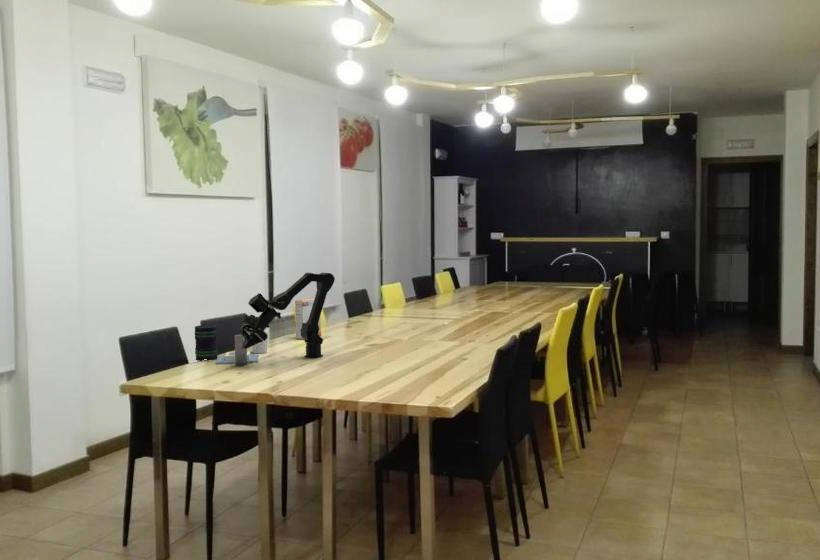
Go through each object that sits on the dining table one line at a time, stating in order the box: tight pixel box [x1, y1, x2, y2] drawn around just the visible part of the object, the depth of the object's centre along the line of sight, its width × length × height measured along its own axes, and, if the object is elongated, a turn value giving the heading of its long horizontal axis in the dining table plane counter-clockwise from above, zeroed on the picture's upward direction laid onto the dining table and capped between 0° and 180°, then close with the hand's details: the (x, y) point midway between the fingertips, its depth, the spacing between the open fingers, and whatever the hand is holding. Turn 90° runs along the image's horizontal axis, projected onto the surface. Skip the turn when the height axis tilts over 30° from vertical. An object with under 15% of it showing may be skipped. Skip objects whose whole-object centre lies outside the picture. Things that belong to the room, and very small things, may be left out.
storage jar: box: [194, 324, 219, 362], centre depth 334 cm, size 10×10×15 cm
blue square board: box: [215, 350, 260, 365], centre depth 332 cm, size 18×18×3 cm
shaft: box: [234, 334, 248, 367], centre depth 318 cm, size 5×5×13 cm
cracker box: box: [294, 297, 322, 341], centre depth 394 cm, size 14×6×21 cm, turn 144°
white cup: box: [251, 330, 268, 354], centre depth 350 cm, size 8×8×10 cm
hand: (241, 346), depth 318 cm, fingers open, 9 cm apart
